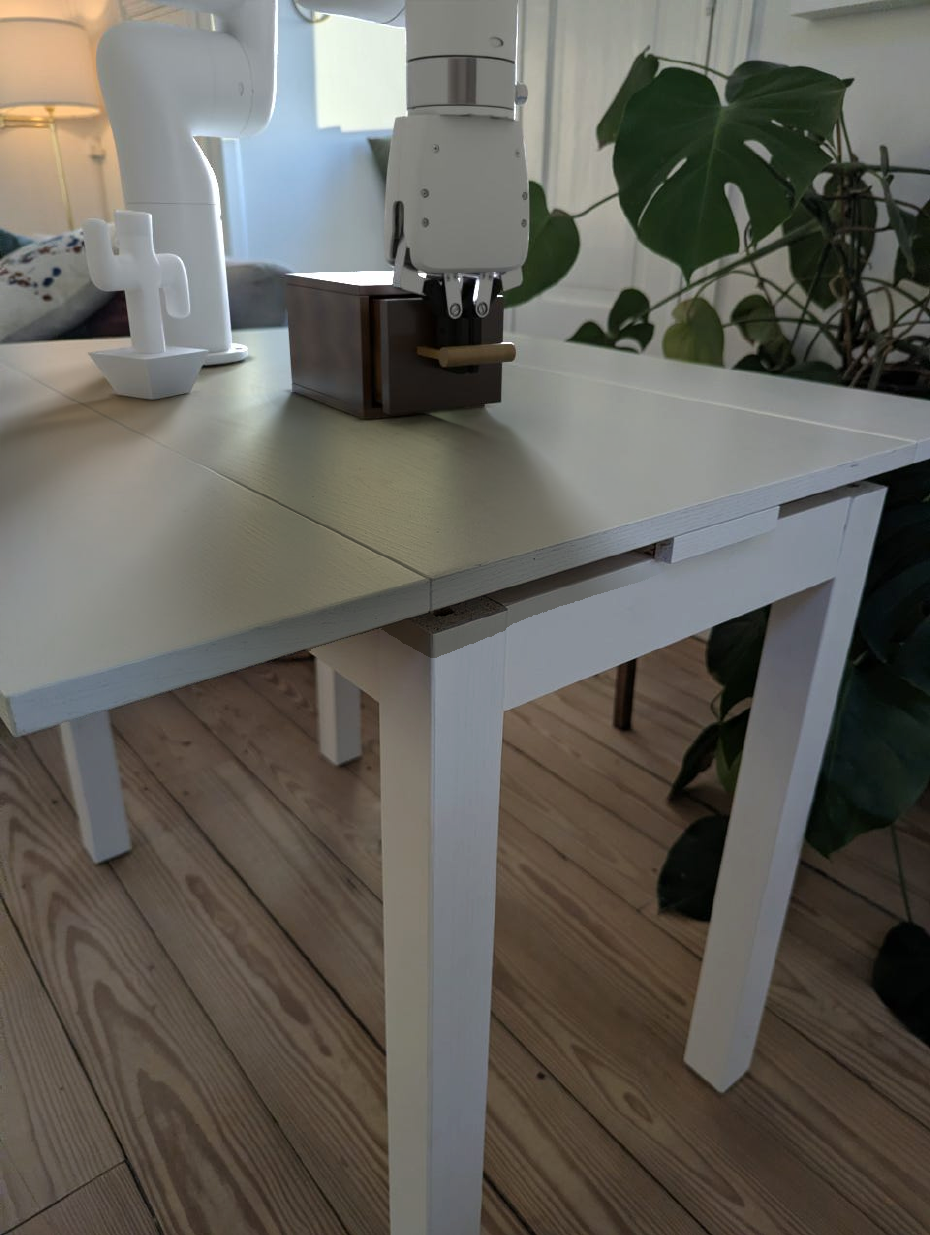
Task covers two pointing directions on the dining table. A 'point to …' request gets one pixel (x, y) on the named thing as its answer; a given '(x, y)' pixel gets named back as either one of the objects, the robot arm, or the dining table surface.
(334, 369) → the cabinet
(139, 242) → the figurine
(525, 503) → the dining table surface
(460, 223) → the robot arm
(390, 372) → the drawer
